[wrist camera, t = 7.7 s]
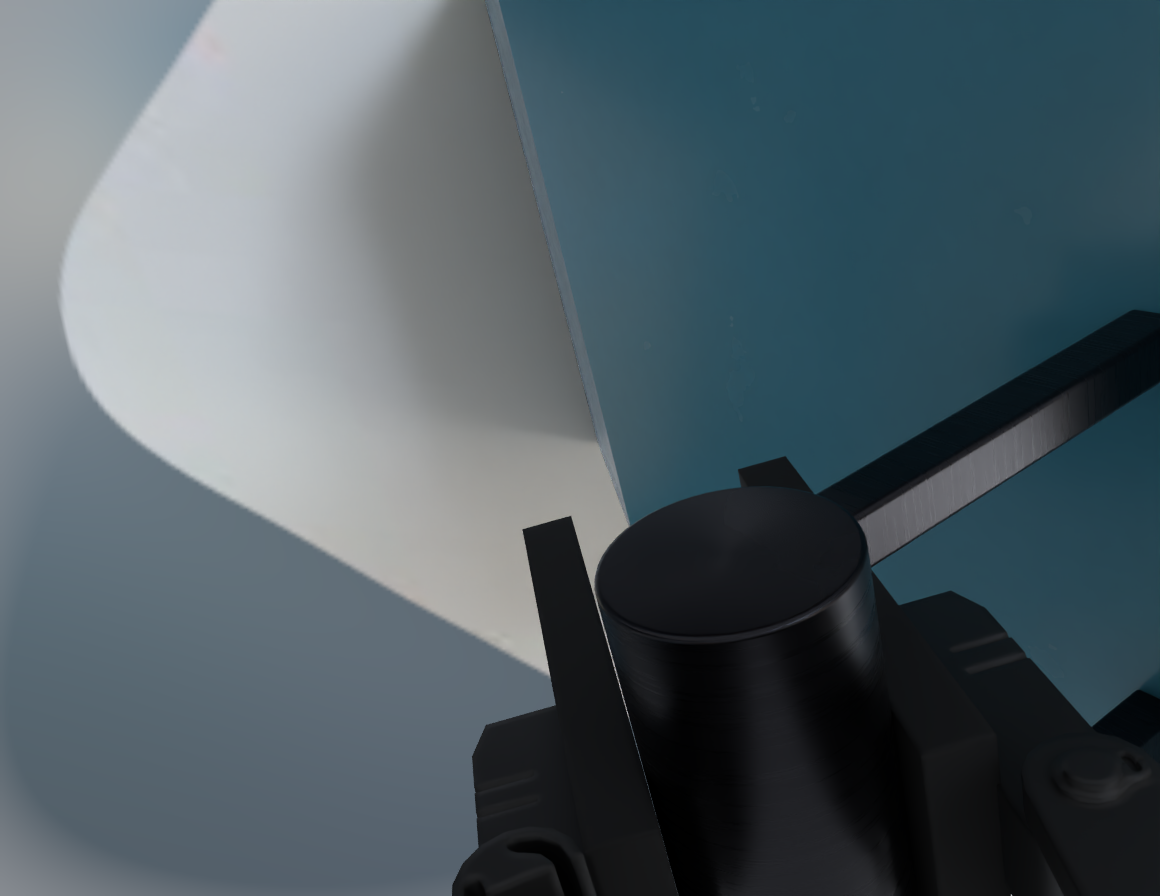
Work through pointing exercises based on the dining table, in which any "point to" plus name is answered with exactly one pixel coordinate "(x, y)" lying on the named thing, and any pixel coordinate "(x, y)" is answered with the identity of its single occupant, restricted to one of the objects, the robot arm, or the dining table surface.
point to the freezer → (551, 237)
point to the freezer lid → (855, 380)
